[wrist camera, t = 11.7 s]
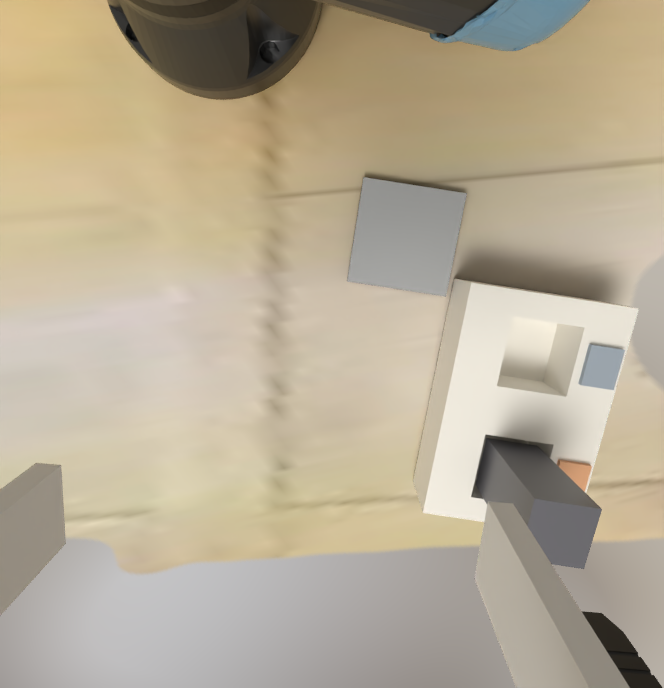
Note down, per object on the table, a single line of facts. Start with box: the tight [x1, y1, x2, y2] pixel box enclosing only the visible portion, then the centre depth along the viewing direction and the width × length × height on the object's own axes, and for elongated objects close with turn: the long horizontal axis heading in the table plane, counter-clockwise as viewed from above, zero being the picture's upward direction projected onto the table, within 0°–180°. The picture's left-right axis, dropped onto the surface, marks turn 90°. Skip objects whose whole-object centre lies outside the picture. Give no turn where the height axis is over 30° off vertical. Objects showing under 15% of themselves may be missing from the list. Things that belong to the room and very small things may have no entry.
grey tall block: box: [475, 435, 602, 569], centre depth 33 cm, size 4×4×12 cm
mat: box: [347, 177, 467, 297], centre depth 37 cm, size 8×8×1 cm
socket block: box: [413, 279, 639, 522], centre depth 37 cm, size 18×12×5 cm, turn 171°
